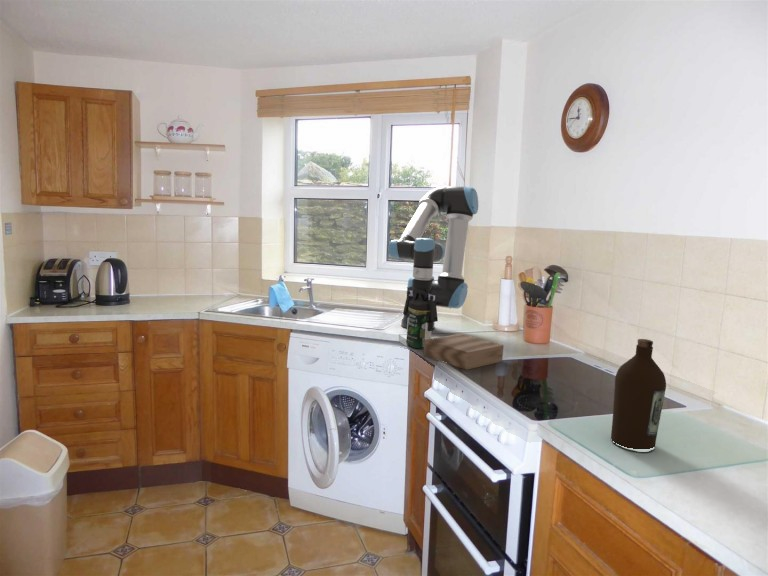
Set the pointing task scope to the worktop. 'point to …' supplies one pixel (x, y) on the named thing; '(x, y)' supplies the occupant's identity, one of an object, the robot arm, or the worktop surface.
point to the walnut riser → (463, 351)
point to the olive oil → (638, 399)
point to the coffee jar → (417, 323)
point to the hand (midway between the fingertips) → (418, 336)
